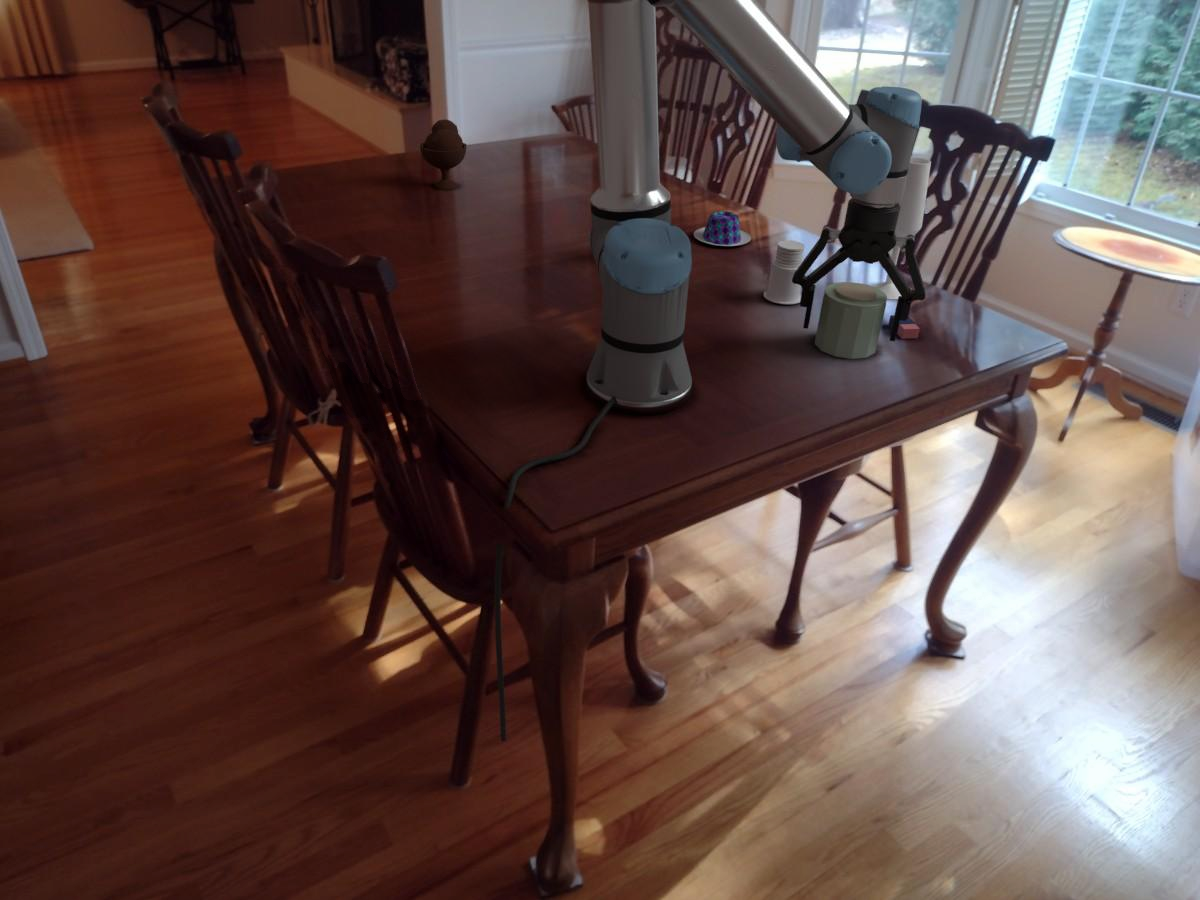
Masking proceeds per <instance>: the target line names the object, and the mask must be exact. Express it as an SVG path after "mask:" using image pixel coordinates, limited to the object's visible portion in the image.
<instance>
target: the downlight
mask: <svg viewBox="0 0 1200 900" xmlns="http://www.w3.org/2000/svg"><path fill="white" fill-rule="evenodd" d="M804 252H805V244H804V243H803V242H800V241H797V240H789V239H785V240H780V241H779V242H777V247H776V255H775V258H773V259H772V260H771V264H770V271H769V275H768V273H765V274H764V278H763V279H764V280H763V282H764V288H765V290H764V292H763V298H764V299H766V300H767V301H769V302H771V303H774V304H779V305H797V304H800V300H801V294H802V287H801V286H800V285H799V284H794V283H793V282H792V278H793V275H794V273H795V271H796V270H797V269H798V267H799V266H800V264H801V263H802V262H803V259H804ZM768 276H769V278H768ZM804 276H806V274H805V275H804ZM767 281H768V283H767Z"/></svg>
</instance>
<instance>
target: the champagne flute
mask: <svg viewBox="0 0 1200 900" xmlns="http://www.w3.org/2000/svg"><path fill="white" fill-rule="evenodd" d="M931 165H932V161H931V160H930V159H929V158H928V159H927V158H924V157H918V156H911V159H910V163H909V167H908V173H907V179H906V183H905V188H904V193H903V197H902V201H901V202H899V203H898V204H899V205H900V211H899V216H898V220H897V225H896V230H895V235H896V237H907V236H908V235H913V236H914V237H915V235H916V234H918V233H919V232H920V230H922V227H923V221H924V215H925V207H926V201H927V193H928V187H929V180H930V173H931ZM900 252H901V251H900V247H899V246H897V245H895V247H894V248H892V252H891V255H890V256H891V258H892V260H893V262H894V264H895V265H896V266H897V263H898V259H899V256H900V255H899V254H900ZM871 286H872V287H875V288H877V289H879V290H881V291H882V292H884V293H885V294H886V296H887V300H898V297H899V296H901V295H900V293H899V291H898V290H897V288H896V287H895V285H894V283H893V282H892V280H891V279H890V277H889V276H888V274H887V273H886V278H885V281H884V282H881V283H877V284H875V285H871Z"/></svg>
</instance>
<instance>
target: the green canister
mask: <svg viewBox="0 0 1200 900" xmlns="http://www.w3.org/2000/svg"><path fill="white" fill-rule="evenodd" d="M872 286H873V285H869V284H866V283H860V282H852V281H840V282H834V283H831V284H828V285H826V287H824V291H823V296H822V300H821V307H820V312H819V317H818V322H817V328H816V334H815V339H814V345H815V346H816V347H817V348H818V350H820V351H821V352H823V353H825V354H828V355H830V356H833V357H835V358H842V359H849V360H857V359H867V358H868V357H871V356H872V355H874V354H876V351H877V346H878V342H879V338H880V334H881V329H882V324H883V320H884V315H885V312H886V308H887V300H888V299H887V296H886V294H885V293H884V292H882V291H881V290H879V289H877V288H875V287H872Z"/></svg>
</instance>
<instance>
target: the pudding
mask: <svg viewBox="0 0 1200 900" xmlns="http://www.w3.org/2000/svg"><path fill="white" fill-rule="evenodd" d="M740 225H741V224H740V218H739V215H737V214H735V212H732V211H726V210H725V211H724V210H721V211H714V212H712V213H711V214H710V215H709V216H708V219H707V223H706V225H705V226H704V227H701V228H698V229H696V230H695V231H694V232H693V237H694V239H696V240H698V241H699V242H702V243H705V244H709V245H711V246H717V247H718V246H720V247H736V246H742V245H745V244H747V243H749V242H750V241H751V240H752V237H751V235H750V234H749V233H748V232H746V231H744V230H741V226H740Z"/></svg>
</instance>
